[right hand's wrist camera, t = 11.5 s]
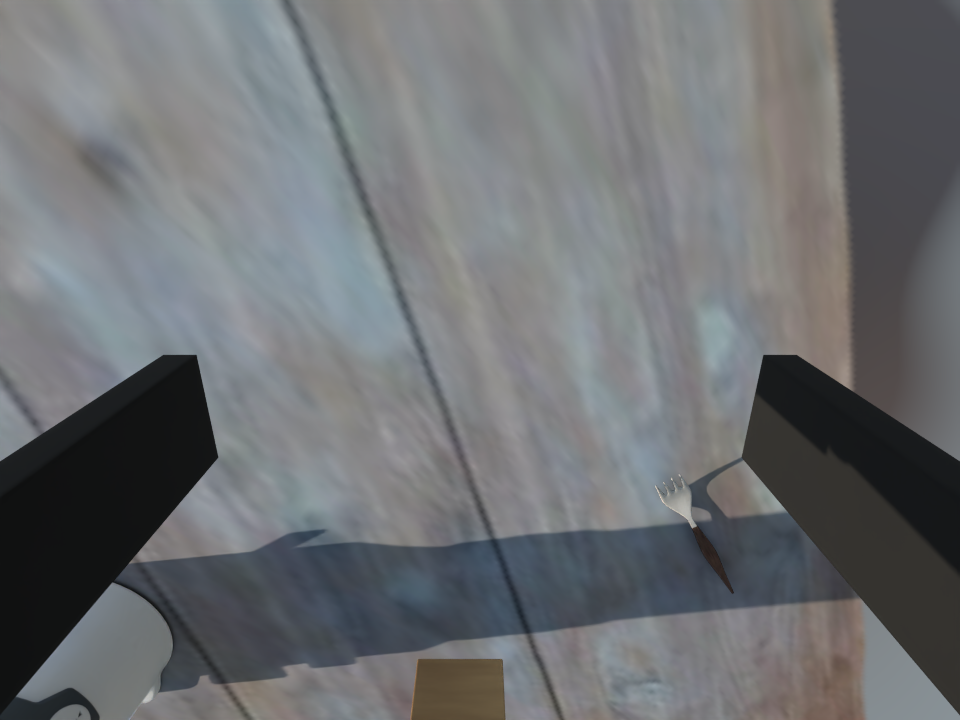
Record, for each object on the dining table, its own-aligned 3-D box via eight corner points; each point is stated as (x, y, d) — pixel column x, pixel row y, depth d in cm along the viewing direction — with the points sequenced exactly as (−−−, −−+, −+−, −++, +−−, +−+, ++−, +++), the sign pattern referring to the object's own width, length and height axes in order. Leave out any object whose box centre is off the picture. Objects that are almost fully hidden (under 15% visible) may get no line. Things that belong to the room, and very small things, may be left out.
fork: (717, 594, 51) (726, 611, 49) (646, 474, 46) (653, 487, 44) (743, 583, 50) (753, 600, 48) (674, 460, 45) (682, 473, 43)
